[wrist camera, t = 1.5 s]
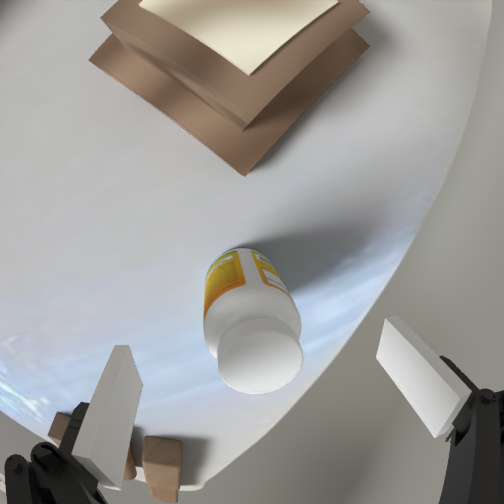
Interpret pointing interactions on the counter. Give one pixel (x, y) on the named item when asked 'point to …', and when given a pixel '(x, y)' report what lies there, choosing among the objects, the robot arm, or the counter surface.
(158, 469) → the wooden block set
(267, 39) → the plinth
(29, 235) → the counter surface
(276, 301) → the supplement bottle
